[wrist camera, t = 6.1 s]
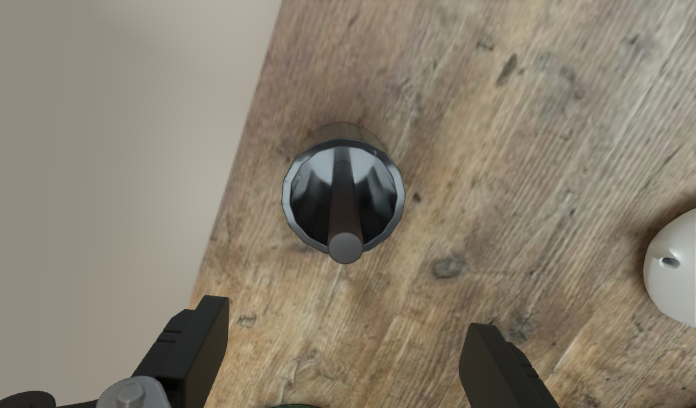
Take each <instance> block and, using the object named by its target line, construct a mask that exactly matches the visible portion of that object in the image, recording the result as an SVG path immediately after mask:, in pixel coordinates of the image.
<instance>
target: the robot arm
mask: <svg viewBox="0 0 696 408" xmlns="http://www.w3.org/2000/svg"><path fill="white" fill-rule="evenodd" d="M228 326H229V298H228V297H220V296H210V295H205V296H204V297H203V298H202V300H201V301H200V303H199V305H198V306H197V308H196V309H195V310H189V309H184V310H183V311H181V312H180V313H178V314H177V315H176V316H174V317H172V318H171V320H170V321H169V322H168V324H167V325H166V327H165V328H164V330H163V332H162V333H161V334H160V335H159V337H158V338H157V341H156V342H155V343H154V344H153V345H152V347H151V348H150V350H149V351H148V353H147V354H146V356H145V357H144V358H143V360H142V362H141V363H140V364H139V366H138V367H137V369H136V370H135V371H134V373H133V374H132V376H131V377H130V378H127V379H123V380H121V381H119V382H117V383H115V384H113V385H112V386H110V387H109V388H108V389H106V390H105V391H104V392H103V394H102V395H101V396H100V397H99V399H97V400H94V401H90V402H84V403H78V404H73V405H66V406H60V407H56V403H55V399H54V397H53V396H52V395H51V394H49V393H47V392H43V391H28V392H23V393H18V394H15V395H12V396H9V397H7V398H5V399H2V400H0V408H203V407H204V405H205V403H206V400H207V398H208V395H209V393H210V390H211V388H212V385H213V383H214V381H215V378H216V376H217V373H218V371H219V368H220V366H221V363H222V361H223V358H224V356H225V352H226V348H227V342H228ZM459 376H460V380H461V383H462V385H463V388H464V390H465V393H466V395H467V398H468V400H469V403H470V405H471V408H560V407H559V406H558V404H557V403H556V401H555V400H554V398H553V397H552V395H551V394H550V392H549V391H548V389H547V388H546V386H545V385H544V383H543V382H542V380H541V379H539V376H538V374H537V373H536V371H535V369H534V368H532V365H531V363H530V362H529V360H528V359H527V357H526V356H525V354H524V353H523V352H522V351H520V350H519V349H518V348H517V347H516V346H515V345H514V344H512V343H511V342H506V341H505V339H504V338H503V336H502V335H501V333H500V331H499V330H498V328H497V327H496V326H495V325H490V324H480V323H471V324H470V325H469V327H468V331H467V334H466V338H465V342H464V345H463V349H462V353H461V356H460V360H459Z"/></svg>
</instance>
